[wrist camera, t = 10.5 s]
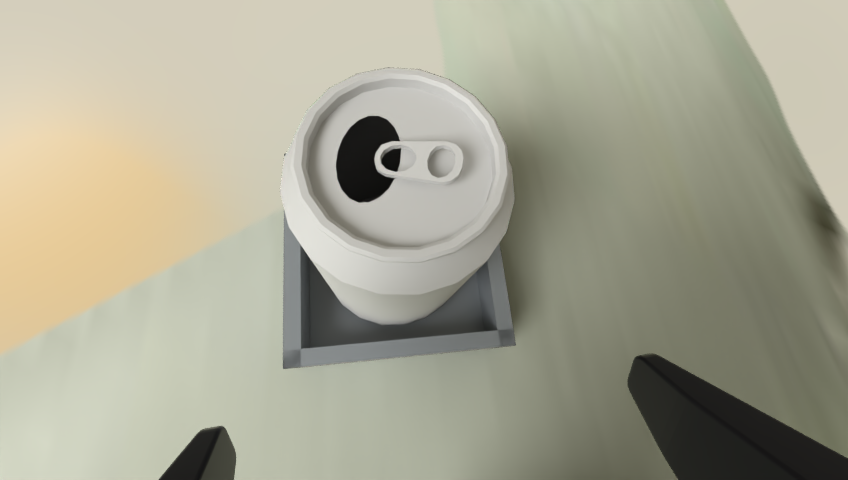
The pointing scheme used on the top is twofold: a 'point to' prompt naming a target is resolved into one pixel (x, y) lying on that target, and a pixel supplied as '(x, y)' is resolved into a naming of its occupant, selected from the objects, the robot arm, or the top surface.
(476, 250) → the can
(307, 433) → the top surface
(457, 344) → the tray
